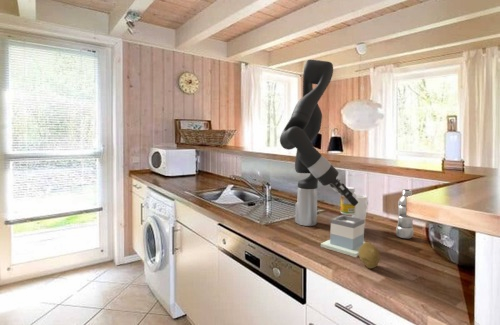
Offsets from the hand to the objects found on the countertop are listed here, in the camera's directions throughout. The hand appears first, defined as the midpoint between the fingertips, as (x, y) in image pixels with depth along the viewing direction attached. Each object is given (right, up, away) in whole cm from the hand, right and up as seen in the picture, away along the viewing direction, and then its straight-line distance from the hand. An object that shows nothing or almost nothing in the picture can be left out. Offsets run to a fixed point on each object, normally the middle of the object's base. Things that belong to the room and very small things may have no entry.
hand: (353, 202), depth 115 cm
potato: (0, -19, -16) cm, 25 cm away
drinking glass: (+10, -15, +24) cm, 31 cm away
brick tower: (-2, -17, +2) cm, 17 cm away
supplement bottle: (-2, -4, 0) cm, 5 cm away
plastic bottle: (+25, -17, +13) cm, 33 cm away
